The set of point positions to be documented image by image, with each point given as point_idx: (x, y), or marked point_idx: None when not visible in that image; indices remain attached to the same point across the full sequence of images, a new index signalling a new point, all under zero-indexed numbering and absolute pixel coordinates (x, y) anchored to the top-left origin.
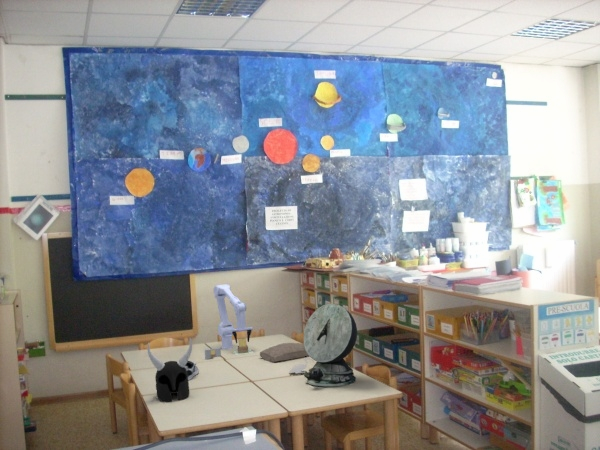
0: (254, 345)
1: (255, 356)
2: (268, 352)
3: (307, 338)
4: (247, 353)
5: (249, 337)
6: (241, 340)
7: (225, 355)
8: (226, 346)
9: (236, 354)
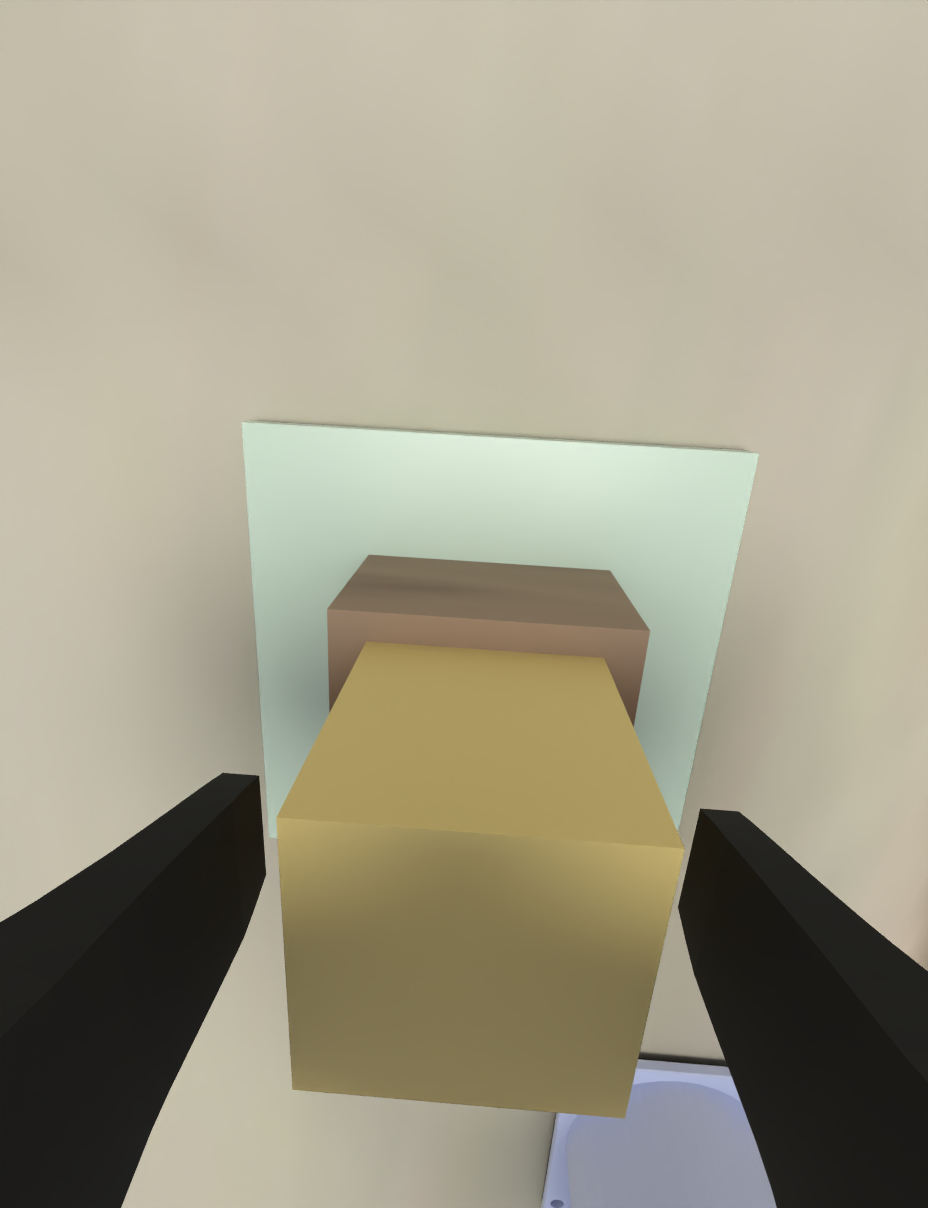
0: (172, 1121)
1: (237, 59)
2: None
3: None
4: (410, 451)
5: (57, 890)
6: (553, 793)
7: (905, 688)
8: (726, 1154)
9: (706, 503)
